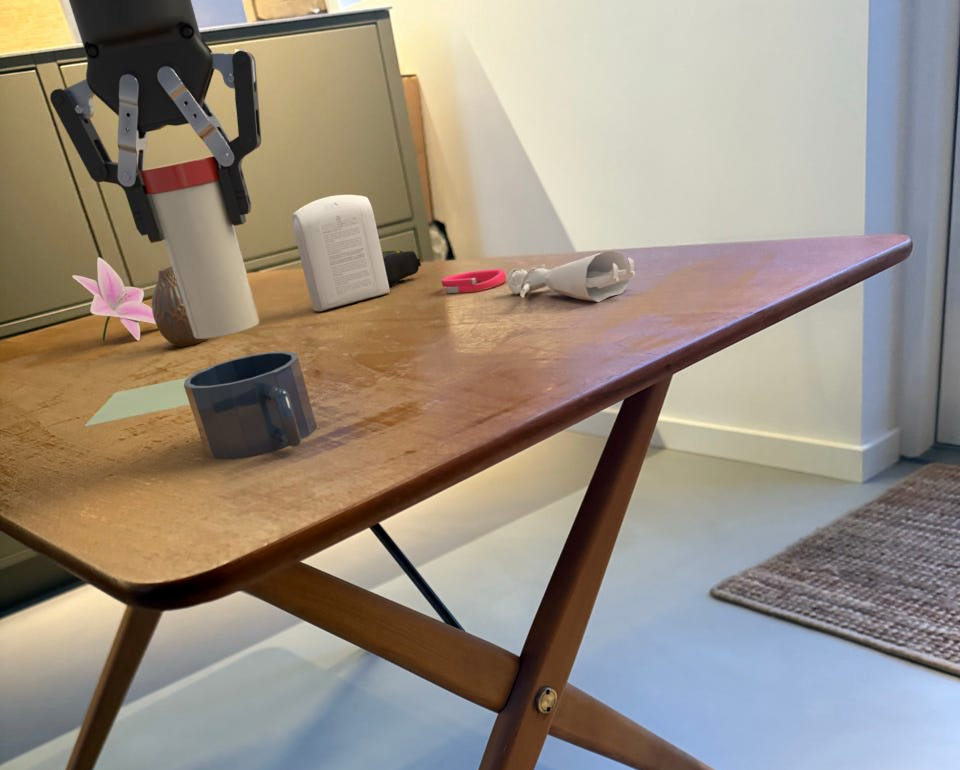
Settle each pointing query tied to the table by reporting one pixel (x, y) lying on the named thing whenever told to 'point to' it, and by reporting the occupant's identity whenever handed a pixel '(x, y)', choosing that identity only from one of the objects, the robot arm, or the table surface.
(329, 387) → the table surface
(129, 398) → the sticky note
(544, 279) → the woman figurine
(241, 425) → the mug
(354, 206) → the white rounded block
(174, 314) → the vase
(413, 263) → the tape measure
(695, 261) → the table surface
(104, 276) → the lily
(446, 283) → the fitness band
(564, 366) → the table surface
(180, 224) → the jar
